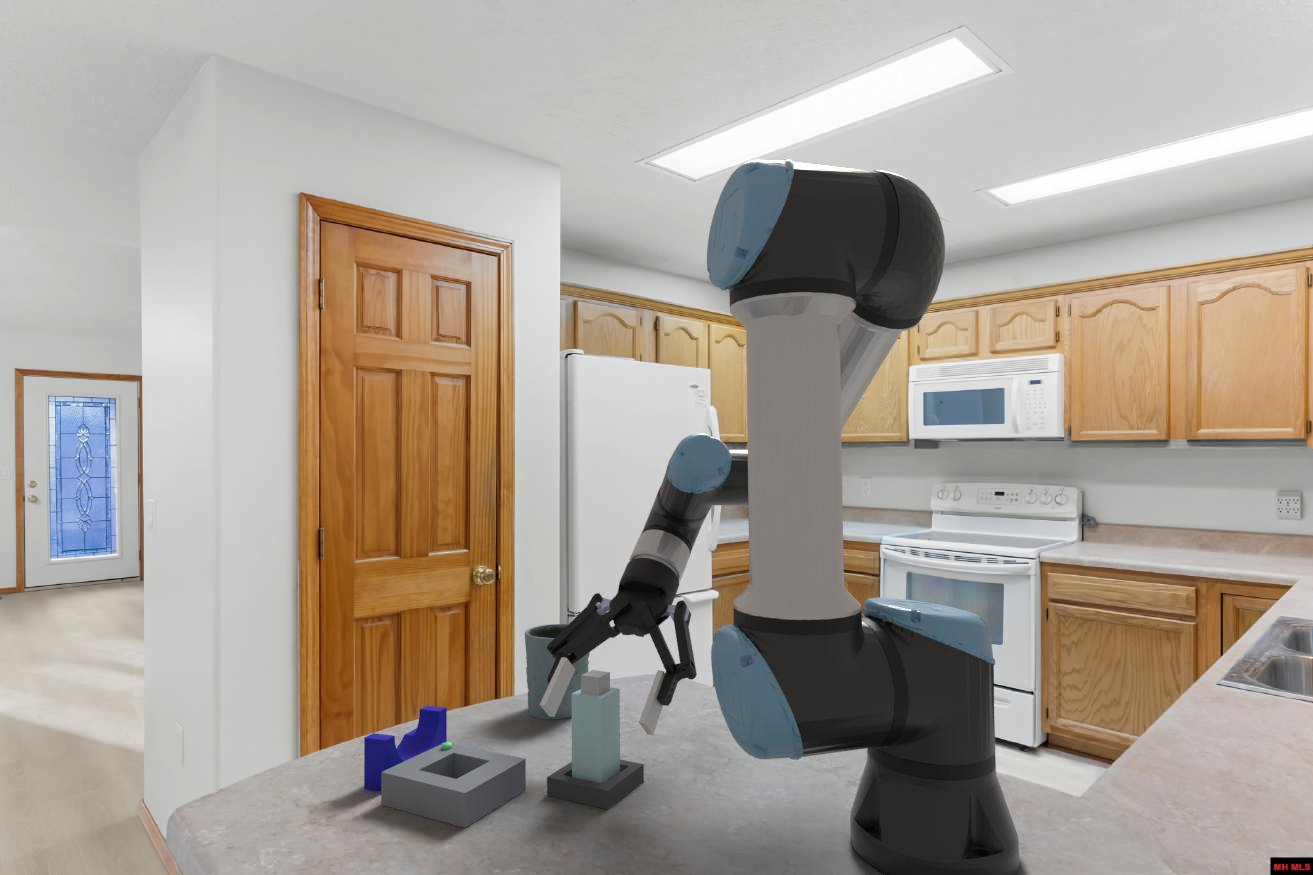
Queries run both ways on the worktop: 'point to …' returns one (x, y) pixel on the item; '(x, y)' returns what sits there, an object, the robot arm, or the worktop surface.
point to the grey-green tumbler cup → (548, 670)
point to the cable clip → (403, 745)
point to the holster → (595, 785)
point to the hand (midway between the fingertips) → (594, 719)
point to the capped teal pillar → (596, 728)
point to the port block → (453, 783)
